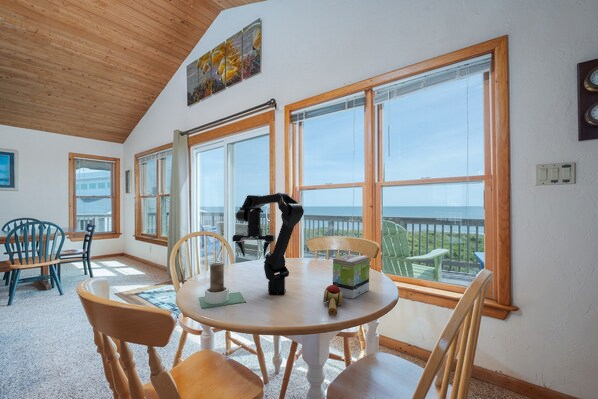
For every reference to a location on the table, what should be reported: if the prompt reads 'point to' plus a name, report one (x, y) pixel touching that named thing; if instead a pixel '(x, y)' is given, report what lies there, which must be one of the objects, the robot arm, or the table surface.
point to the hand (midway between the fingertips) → (254, 256)
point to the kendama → (333, 298)
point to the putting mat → (220, 298)
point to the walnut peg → (217, 277)
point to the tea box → (351, 274)
